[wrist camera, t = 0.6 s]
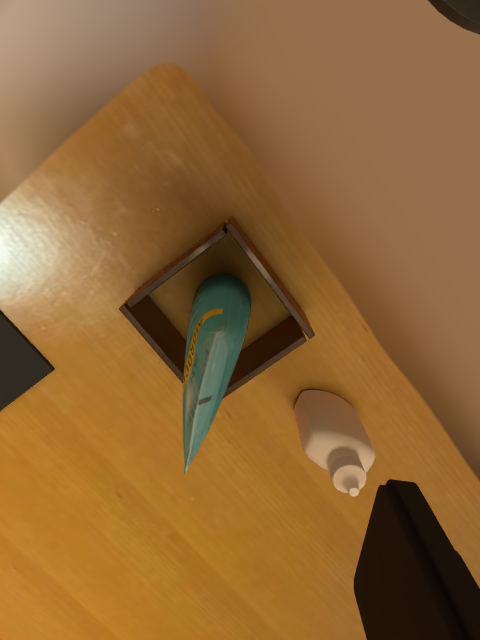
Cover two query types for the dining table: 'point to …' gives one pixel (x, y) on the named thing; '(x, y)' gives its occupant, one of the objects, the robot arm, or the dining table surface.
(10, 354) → the mat
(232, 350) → the tube
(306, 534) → the dining table surface
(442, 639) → the robot arm
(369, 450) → the eye dropper bottle
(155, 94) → the dining table surface
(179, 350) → the tube holder
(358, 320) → the dining table surface
